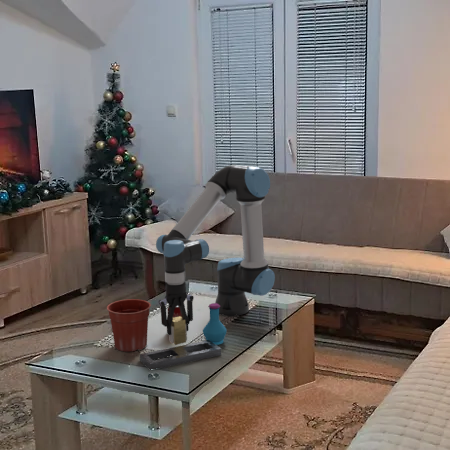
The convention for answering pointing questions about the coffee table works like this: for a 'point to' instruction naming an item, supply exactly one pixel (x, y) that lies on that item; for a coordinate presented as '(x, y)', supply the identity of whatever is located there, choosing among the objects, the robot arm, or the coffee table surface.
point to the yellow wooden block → (179, 330)
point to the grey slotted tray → (180, 354)
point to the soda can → (176, 312)
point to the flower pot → (129, 323)
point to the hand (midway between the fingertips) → (178, 340)
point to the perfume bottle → (214, 326)
